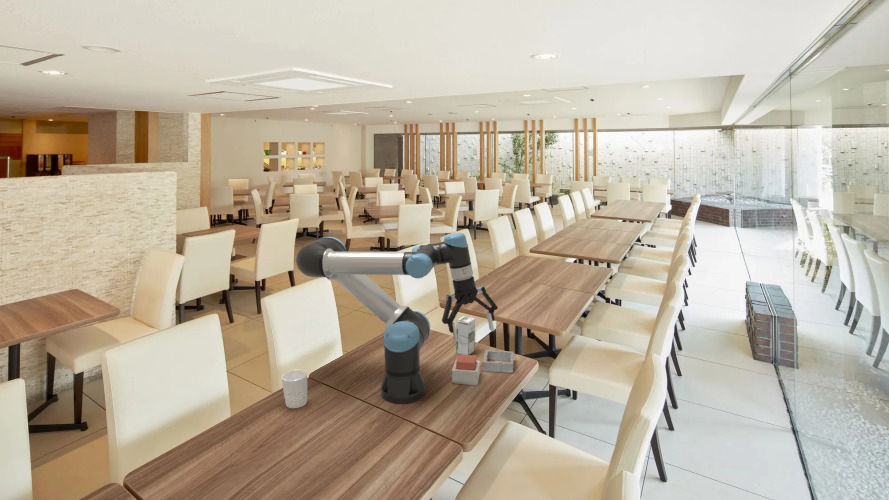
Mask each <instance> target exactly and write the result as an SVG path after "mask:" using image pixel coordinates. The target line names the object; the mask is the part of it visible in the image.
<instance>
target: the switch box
mask: <svg viewBox="0 0 889 500" xmlns="http://www.w3.org/2000/svg"><path fill="white" fill-rule="evenodd" d="M456 361H457V358H455V361H454V364H453V365H452V366H453V367H452V370H451V383H452V385H453V384H455V385H468V386H470V385H471V386H478V385H479V381H480V375H481V360H476V368H475V371H474V370H459V369H456Z"/></svg>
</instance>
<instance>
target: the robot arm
mask: <svg viewBox="0 0 889 500" xmlns="http://www.w3.org/2000/svg"><path fill="white" fill-rule="evenodd" d="M470 255H471V254H470V251H469V244H468V241H467V237H466V234H464V233H463V232H455V233H449V234H447V235H445V236H444V238H443V241H441V242H437V243H436V242H435V243H429V244H421V245H418V246H414V247H413V248H412V249H411V251H347V248H346V246H345V244H344V243H343V241H341V240H340V239H339V238H337V237H334V236H326V237H325V236H324V237H320V238H318V239H316V240H314V241H312V242H309V243H307V244H304V245H302V247H300V248H299V250H298V251H297V254H296V259H295V263H296V266H297V269H298V271H300V272H301V274H303V275H304V276H306V277H309V278H326V279H327V280H328V281H335V282H337V283H338V284H339V285H341V286H342V288H344V289H345V290H346V291H347V292H348V293H350V294H351V295H352V296H353V297H354V298H355V300H358V302H360V303H361V304H362V306H364V307H365V308H367V309H368V310H369V311H370V312H371V313H372V314H373V315H374V316H376V317H377V318H378V319H379V320H380V321H381V322H383V324H384V325H385V330H384V332H383V347H384V349H383V350H384V351H383V352H384V365H385V366H384V367H385V368H384V369H385V372H384V377H383V379H382V382H381V386H380V394H381V397H382V398H383V399H384V400H385V401H387V402H390V403H393V404H409V403H413V402H416V401H418V400H420V399H422V398H423V397H424V396H425V394H426V390H427V389H426V382H425V380H424V376H423V375H422V372H421V363H420V362H421V361H420V358H421V357H420V353H421V350H422V348H423V346H424V344H425V343H426V342H427V341H428V339H429V337H430V332H431V323H430V321H429V318H428V317H427V316H426V315H425V314H424V313H422V312H421V311H418V310H413V309H411V308H410V307H409V306H408V305H401V304H399V302H397V300H395V299H394V298H393V297H391V295H389V294H388V293H387V292H386V291H385V290H384V289H383V288H381V287H380V286H379V285H378V284H376V282H374V280H372V279H371V278H370V277H369V276H372V275H374V276H375V275H377V276H386V275H387V276H410V277H412V278H414V279H423V278H424V277H425V276H427V275H428V274H430V272H431V271H432V270H433V268H434V267H435V266H438V265H445V264H448V266H449V270H450V271H449V272H450V276H451V279H452V287H453V290H454V294H446V296H445V297H446V302H445V303H446V304H445V307H444V311H443V315H442V318H441V323H442V324H444V325H447V326H448V331H449V332H450V333H451V334H452V335H453V336H452V337H453V340H454V341H455V343H456V342H457V341H458V338H457V333H456V324H455V322H454V320H455V318H456V317H457V316H458V315H457V314H458V313H459V311H460V309H461V307H462V306H463V305H464V306H465V305H468V304H473V303H474V301H475V302H476V303H478V304H479V305H480V306H482V307H483V308H484V309H485V310H487V311H486V317H487V322H488V328H489V330H490V331H492V332H494V331H495V327H494V321H495V315H494V313H495V311H496V310H498V308H499V307H498V305H497V304H496V302H494V300H493V299H492V298H491V297H490V295H489V294H488V293H487V291H486V287H485V286H482V285H480V286H479V287H477V286H476V283H475V278H474V276H473V275H474V270H473V266H472V262H471V256H470ZM368 275H369V276H368ZM476 287H477V288H476ZM478 294H481V295H482V296H483V297H484V298H485V300H486V301H487V302H488V304H489V305H490V306H491V307H490V306H489V305H488V304H486V303H485V302H483V301H482V300H481V299H480V298H478V297H477V295H478ZM454 299H456V302H455V305H454V306H453V308H452V310H451V307H452V304H453V302H454Z"/></svg>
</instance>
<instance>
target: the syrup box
mask: <svg viewBox="0 0 889 500" xmlns="http://www.w3.org/2000/svg"><path fill="white" fill-rule="evenodd" d="M455 323H456V324H455V328H456V333H457V338H458V341H457V342H456V341H455V351H456V352H455V354H458V355H459V354H460V355H471V354H473V353H474V352H475V351H476V349H475V348H476V345H475V344H476V319H475V318H474V317H472V316H466V315H463V316H461V317H460V318H458V319H457V320H456V321H455Z"/></svg>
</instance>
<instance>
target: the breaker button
mask: <svg viewBox="0 0 889 500" xmlns="http://www.w3.org/2000/svg"><path fill="white" fill-rule="evenodd" d="M456 359H457V361H456V369H459V370H474V371H475V368H476V361H477V355H474V354H472V355H471V354H470V355H462V354H458V355H457V358H456Z"/></svg>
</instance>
